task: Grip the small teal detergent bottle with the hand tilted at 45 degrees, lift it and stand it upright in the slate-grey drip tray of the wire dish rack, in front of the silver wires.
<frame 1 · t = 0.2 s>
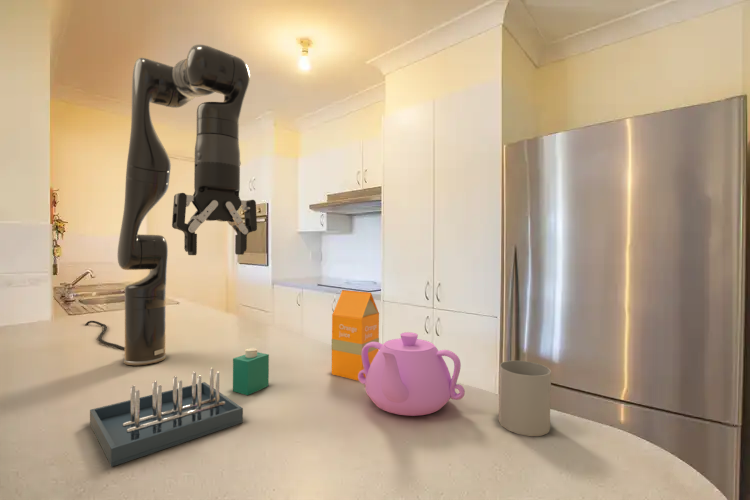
hand: (216, 254, 68), 29 cm above the countertop, tool pointing down, fingers open, 8 cm apart
dish rack: (177, 404, 62), in the drip tray, point 5 cm above the countertop
teapot: (404, 408, 74), on the countertop
detergent bottle: (251, 388, 82), on the countertop
orange juice: (355, 373, 93), on the countertop
drip tray: (167, 423, 66), on the countertop
cup: (523, 425, 67), on the countertop
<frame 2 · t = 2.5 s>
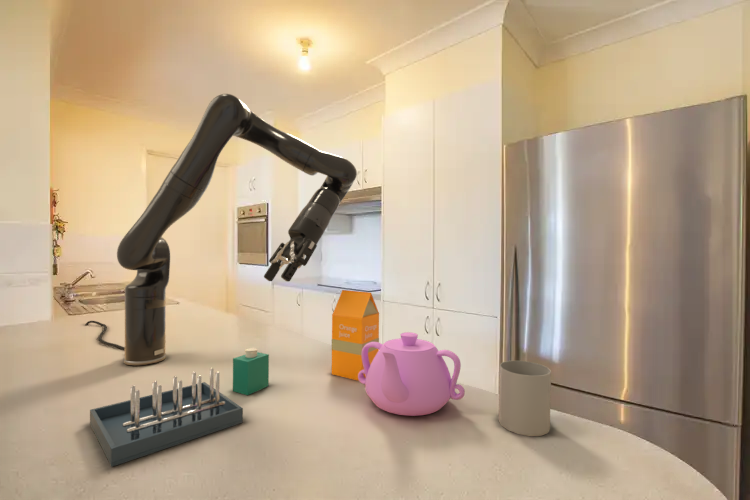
hand: (275, 279, 87), 23 cm above the countertop, tool tilted 35°, fingers open, 8 cm apart
nothing on the countertop moved.
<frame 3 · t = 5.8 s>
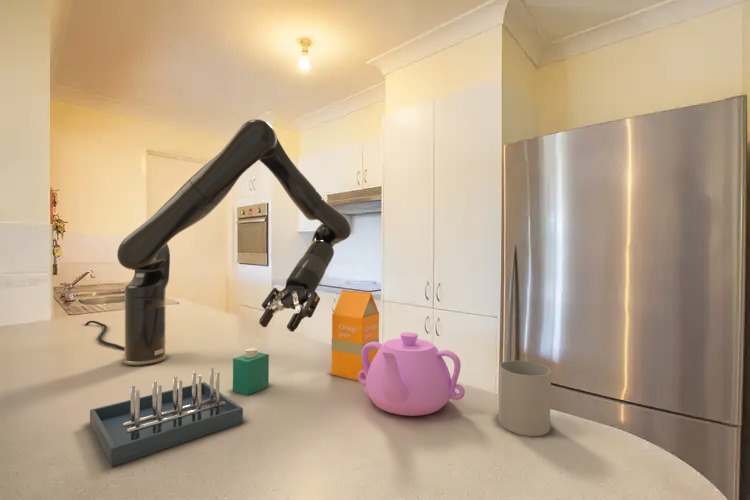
hand: (275, 327, 88), 12 cm above the countertop, tool tilted 45°, fingers open, 8 cm apart
nothing on the countertop moved.
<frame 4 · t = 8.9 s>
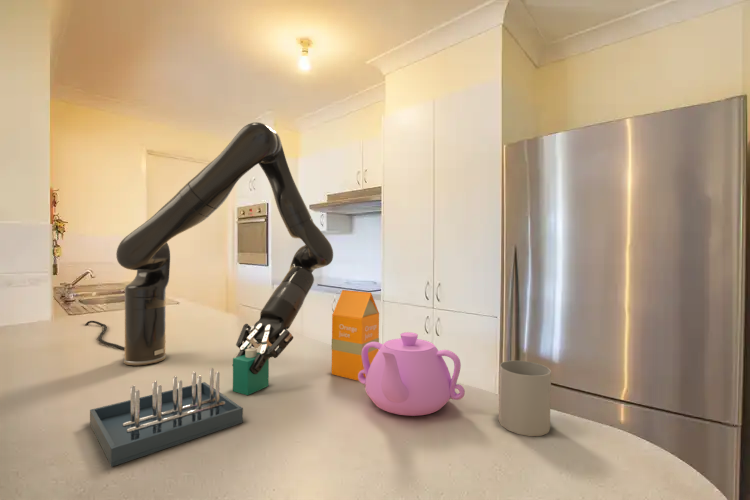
hand: (244, 369, 80), 5 cm above the countertop, tool tilted 45°, fingers closed on detergent bottle, 4 cm apart
detergent bottle: (251, 388, 82), on the countertop, touching gripper
everything else where it was.
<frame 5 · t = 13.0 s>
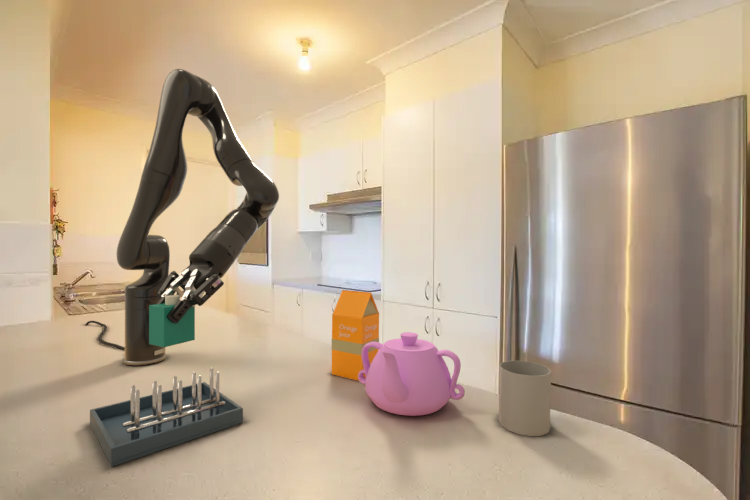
hand: (162, 318, 68), 18 cm above the countertop, tool tilted 45°, fingers closed on detergent bottle, 4 cm apart
detergent bottle: (172, 341, 70), point 13 cm above the countertop, touching gripper
everything else where it was.
when the fingers open (5 cm above the countertop, at t = 17.1 s): detergent bottle stays where it is, resting on drip tray.
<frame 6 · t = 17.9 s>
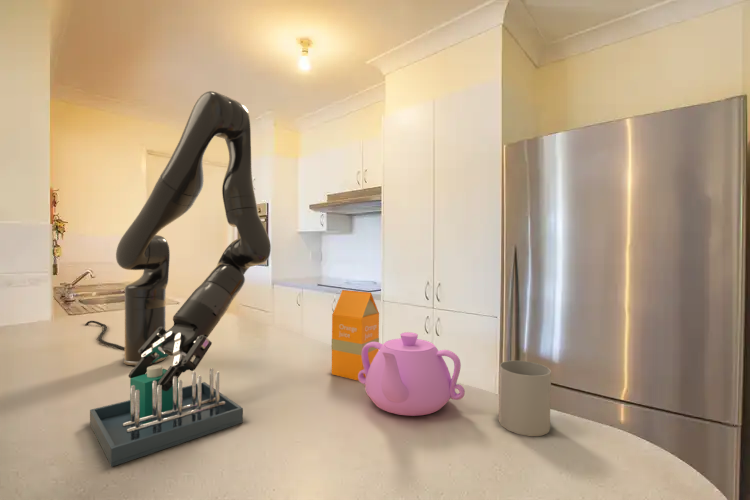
hand: (146, 384, 67), 6 cm above the countertop, tool tilted 45°, fingers open, 8 cm apart
detergent bottle: (154, 414, 68), point 1 cm above the countertop, touching drip tray
everything else where it was.
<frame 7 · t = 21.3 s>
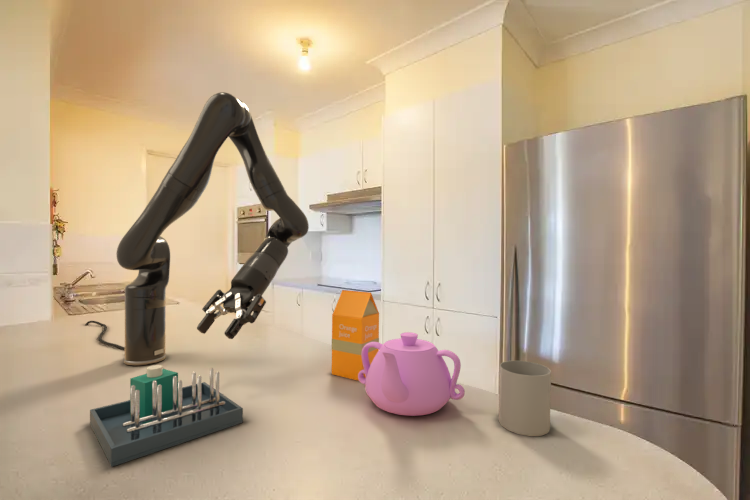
hand: (213, 334, 79), 12 cm above the countertop, tool tilted 45°, fingers open, 8 cm apart
nothing on the countertop moved.
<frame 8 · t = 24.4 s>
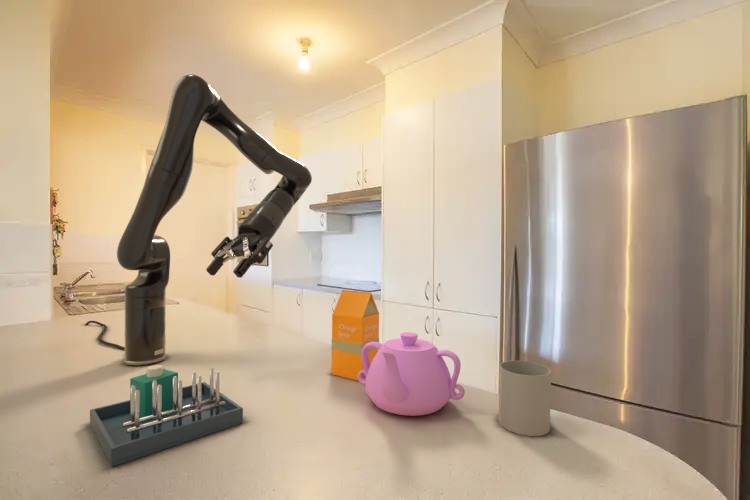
hand: (222, 274, 82), 25 cm above the countertop, tool tilted 45°, fingers open, 8 cm apart
nothing on the countertop moved.
at the end: detergent bottle inside the target area in the drip tray (2.0 cm from its centre), point 0.6 cm above the drip tray's base; detergent bottle tilted 0°; the gripper is holding nothing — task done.
